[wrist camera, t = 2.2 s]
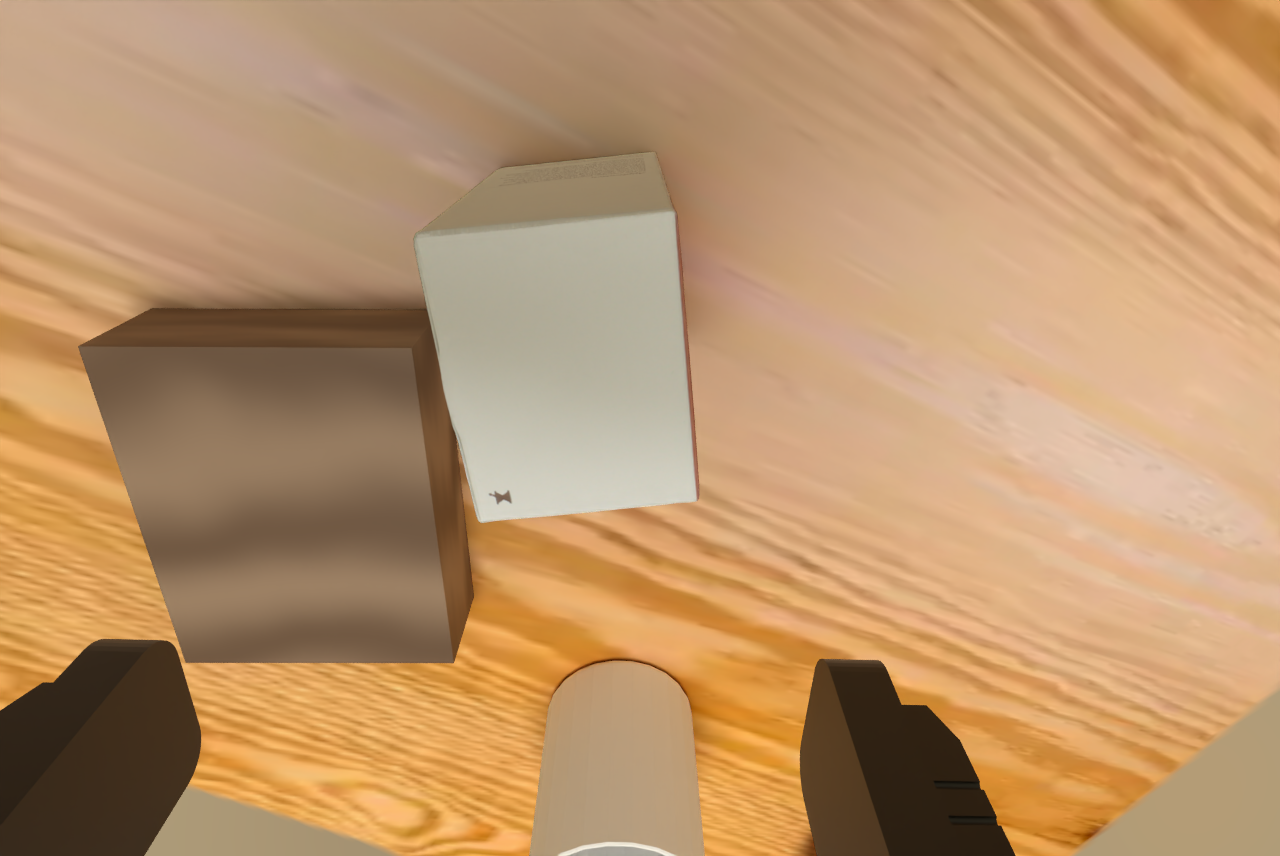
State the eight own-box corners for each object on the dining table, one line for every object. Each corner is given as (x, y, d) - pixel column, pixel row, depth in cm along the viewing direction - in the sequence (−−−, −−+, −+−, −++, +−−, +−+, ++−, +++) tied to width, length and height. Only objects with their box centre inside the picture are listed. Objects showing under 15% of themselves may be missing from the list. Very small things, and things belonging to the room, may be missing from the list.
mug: (582, 638, 39) (567, 821, 30) (716, 685, 41) (741, 874, 31) (499, 783, 44) (463, 981, 35) (622, 821, 46) (619, 1020, 36)
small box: (676, 345, 32) (702, 509, 20) (530, 360, 32) (472, 531, 21) (659, 145, 29) (679, 205, 17) (495, 163, 29) (401, 234, 17)
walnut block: (157, 305, 32) (78, 346, 27) (443, 307, 32) (411, 347, 27) (238, 591, 38) (185, 662, 34) (475, 592, 38) (453, 663, 34)
